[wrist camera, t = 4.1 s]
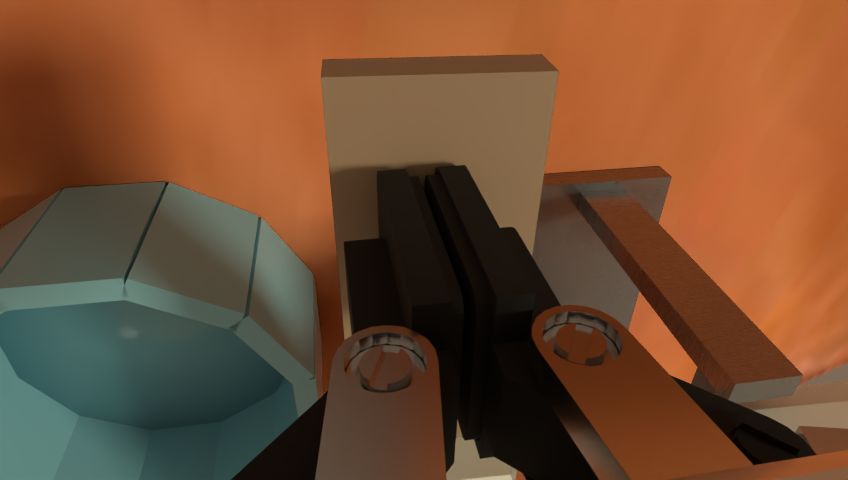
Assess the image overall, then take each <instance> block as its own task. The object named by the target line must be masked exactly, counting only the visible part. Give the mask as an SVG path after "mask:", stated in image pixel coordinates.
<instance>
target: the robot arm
mask: <svg viewBox="0 0 848 480" xmlns="http://www.w3.org/2000/svg"><path fill="white" fill-rule="evenodd" d="M377 202H378V228H379V238H376V239H365V240H353V241H344V257H345V270H346V282H347V294H348V305H349V315H350V324H351V334H352V335H351V336H350V337H348V338H347V339H345V340H344V342H343V343H342V344H341V345H340V346H339V347H338V349H337V350H336V352H335V355H334V358H333V361H332V366H331V373H330V380H329V387H328V391H327V392H326V393H325V394H324V395H323V396H322V397H321V398H320V399H318V400H317V401H316V402H315V403H314V404H313V405H312V406H311V407H310V408H309V409H308V410H306V411H305V412H304V413H303V414H302V415H301V416H300V417H299V418H298V419H297V420H296V421H294V422H293V423H292V424H291V425H290V426H289V427H288V428H287V429H286V430H285V431H283V432H282V433H281V434H280V435H279V436H278V437H277V438H276V439H275V440H274V441H273V442H271V443H270V444H269V445H268V446H267V447H266V448H265V449H264V450H263V451H262V452H261V453H259V454H258V455H257V456H256V457H255V458H254V459H253V460H252V461H251V462H250V463H249V464H247V465H246V466H245V467H244V468H243V469H242V470H241V471H240V472H239V473H238V474H236V475H235V476H234V477H233V478H232V479H231V480H447V479H446V473H447V472H448V470H449V469H450V468H451V466H452V465H453V464H454V457H455V442H456V433H457V419H458V423H459V427H460V430H461V434H462V437H463V439H464V440H465V441H466V440H473V439H474V441H475V444H476V448H477V451H478V454H479V458H480V459H483V458H489V457H495V458H497V459H499V460H500V461H502V462H504V463H506V464H507V465H509V466H511V473H510V475H511V478H512V480H848V429H845V428H828V427H811V426H799V427H798V428H797V430H796V432H794V431H792V430H791V429H790V428H788V427H787V426H785V425H783V424H781V423H779V422H777V421H775V420H774V419H772V418H770V417H767V416H765V415H763V414H760V413H758V412H756V411H753V410H751V409H749V408H746V407H744V406H741V405H739V404H737V403H734V402H732V401H730V400H727V399H725V398H723V397H720V396H718V395H715V394H713V393H711V392H708V391H706V390H704V389H701V388H699V387H697V386H694V385H692V384H689V383H687V382H685V381H682V380H680V379H678V378H675V377H673V376H671V375H669V374H668V373H667V372H666V371H665V369H664V368H663V367H662V366H661V365H660V364H659V363H658V362H657V361H656V360H655V359H654V358H653V357H652V355H651V354H650V353H649V352H648V351H647V350H646V349H645V348H644V347H643V346H642V345H641V344H640V343H639V342H638V340H637V339H636V338H635V337H634V336H633V335H632V334H631V333H630V332H629V331H628V330H627V329H626V328H625V327H624V326H623V325H622V324H621V323H620V322H618V321H617V320H616V319H615V318H614V317H612V316H610V315H608V314H606V313H604V312H602V311H600V310H597V309H593V308H590V307H586V306H578V305H563V306H561V305H560V303H559V301H558V299H557V298H556V296H555V294H554V293H553V291H552V289H551V288H550V286H549V284H548V283H547V281H546V279H545V277H544V276H543V274H542V272H541V271H540V269H539V267H538V266H537V264H536V262H535V260H534V259H533V257H532V255H531V254H530V252H529V250H528V249H527V247H526V245H525V243H524V242H523V240H522V238H521V237H520V235H519V233H518V232H517V230H516V229H515V228H514V227H503V228H500V227H499V225H498V223H497V222H496V220H495V218H494V216H493V214H492V212H491V211H490V209H489V207H488V205H487V203H486V201H485V200H484V198H483V196H482V194H481V192H480V191H479V189H478V187H477V185H476V183H475V181H474V180H473V178H472V176H471V174H470V172H469V170H468V169H467V167H466V166H465V165H458V166H444V167H436V169H435V173H434V175H426V177H425V193H424V190H423V188H422V185H421V182H420V180H419V177H418V176H409V175H408V172H407V170H406V169H400V170H385V171H377Z"/></svg>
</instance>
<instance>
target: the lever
mask: <svg viewBox="0 0 848 480" xmlns="http://www.w3.org/2000/svg"><path fill="white" fill-rule="evenodd" d="M558 74H559V71H558V70H557V69H556V68H555V67H554V66H553V65H552V64H551V63H550V62H549V61H548V60H547V59H546V58H545V57H544V56H543V55H542V54H536V55H493V56H449V57H406V58H363V59H323V61H322V71H321V84H322V95H323V106H324V117H325V128H326V139H327V150H328V161H329V173H330V184H331V195H332V206H333V217H334V228H335V239H336V250H337V261H338V272H339V283H340V294H341V305H342V316H343V328H344V339H347V338H348V337H350V336H351V335H352V334H351V324H350V315H349V305H348V294H347V282H346V270H345V257H344V241H353V240H365V239H376V238H379V228H378V202H377V171H385V170H400V169H406V170H407V172H408V175H409V176H418V177H419V180H420V182H421V185H422V188H423V190H424V193H425V177H426V175H434V173H435V169H436V167H444V166H458V165H465V166H466V167H467V169H468V170H469V172H470V174H471V176H472V178H473V180H474V181H475V183H476V185H477V187H478V189H479V191H480V192H481V194H482V196H483V198H484V200H485V201H486V203H487V205H488V207H489V209H490V211H491V212H492V214H493V216H494V218H495V220H496V222H497V223H498V225H499V227H500V228H503V227H514V228H515V229H516V230H517V232H518V233H519V235H520V237H521V238H522V240H523V242H524V243H525V245H526V247H527V249H528V250H529V252H530V254H531V255H532V254H533V247H534V240H535V233H536V226H537V219H538V212H539V205H540V199H541V192H542V185H543V178H544V171H545V164H546V157H547V150H548V143H549V136H550V129H551V122H552V115H553V108H554V101H555V94H556V87H557V80H558ZM691 384H692V385H694V386H697V387H699V388H701V389H704V390H706V391H708V392H711V393H713V394H715V395H718V393H717V392H716V391H715V389H714V388H713V387H712V385H711V384H710V383H709V381H708V380H707V379H706V377H705V376H704V375H703V374H702V372H701V371H700V370H699V368H697V370H696V373H695V375H694V378H693V380H692V383H691ZM718 396H719V395H718ZM737 404H739V405H741V406H744V407H746V408H749V409H751V410H753V411H756V412H758V413H760V414H763V415H765V416H767V417H770V418H772V419H774V420H775V421H777V422H779V423H781V424H783V425H785V426H787V427H788V428H790V429H791V430H792V431H794V432H796V430H797V428H798V427H799V426H811V427H828V428H845V429H848V381H844V382H832V383H822V384H810V385H799V386H797V388H796V390H795V391H794V393H793V395H792V396H786V397H778V398H771V399H764V400H756V401H749V402H741V403H737ZM510 473H511V466H509V465H507V464H506V463H504V462H502V461H500V460H499V459H497V458H495V457H489V458H483V459H480V458H479V454H478V451H477V448H476V444H475V441H474V439H473V440H466V441H465V440H464V439H463V437H462V434H461V430H460V427H459V423H458V419H457V433H456V442H455V457H454V464H453V465H452V466H451V468H450V469H449V470H448V472H447V473H446V479H447V480H512V478H511V475H510Z"/></svg>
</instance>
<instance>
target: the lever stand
mask: <svg viewBox="0 0 848 480" xmlns="http://www.w3.org/2000/svg"><path fill="white" fill-rule="evenodd" d="M670 181H671V176H670V175H669V174H668V173H667V172H666V171H665V170H663V169H662V168H661V167H660V166H655V167H641V168H626V169H612V170H597V171H583V172H568V173H554V174H544V178H543V185H542V192H541V199H540V205H539V212H538V219H537V226H536V233H535V240H534V247H533V254H532V257H533V259H534V260H535V262H536V264H537V266H538V267H539V269H540V271H541V272H542V274H543V276H544V277H545V279H546V281H547V283H548V284H549V286H550V288H551V289H552V291H553V293H554V294H555V296H556V298H557V299H558V301H559V303H560V305H561V306H563V305H578V306H586V307H590V308H593V309H597V310H600V311H602V312H604V313H606V314H608V315H610V316H612V317H614V318H615V319H616V320H617V321H618V322H620V323H621V324H622V325H623V326H624V327H625V328H626V329H627V330H628V329H629V325H630V322H631V318H632V315H633V311H634V308H635V304H636V301H637V297H638V294H639V291H640V292H641V293H642V295H643V296H644V297H645V299H646V300H647V301H648V303H649V304H650V305H651V307H652V308H653V309H654V311H655V312H656V313H657V314H658V316H659V317H660V318H661V320H662V321H663V322H664V324H665V325H666V326H667V328H668V329H669V330H670V332H671V333H672V334H673V335H674V337H675V338H676V339H677V341H678V342H679V343H680V345H681V346H682V347H683V349H684V350H685V351H686V353H687V354H688V355H689V356H690V358H691V359H692V360H693V362H694V363H695V364H696V366H697V367H698V368H699V370H700V371H701V372H702V374H703V375H704V376H705V377H706V379H707V380H708V381H709V383H710V384H711V385H712V387H713V388H714V389H715V391H716V392H717V393H718V395H719V396H720V397H723V398H725V399H727V400H730V401H732V402H734V403H741V402H749V401H756V400H764V399H771V398H778V397H786V396H792V395H793V393H794V391H795V390H796V388H797V386H798V384H799V382H800V380H801V379H802V377H803V375H802V373H801V372H800V371H799V370H798V369H797V368H796V367H795V366H794V365H793V364H792V363H791V362H790V361H789V360H788V359H787V358H786V357H785V356H784V355H783V354H782V352H781V351H780V350H779V349H778V348H777V347H776V346H775V345H774V344H773V343H772V342H771V341H770V340H769V339H768V338H767V337H766V336H765V335H764V334H763V333H762V331H761V330H760V329H759V328H758V327H757V326H756V325H755V324H754V323H753V322H752V321H751V320H750V319H749V318H748V317H747V316H746V315H745V314H744V313H743V312H742V311H741V309H740V308H739V307H738V306H737V305H736V304H735V303H734V302H733V301H732V300H731V299H730V298H729V297H728V296H727V295H726V294H725V293H724V292H723V291H722V290H721V288H720V287H719V286H718V285H717V284H716V283H715V282H714V281H713V280H712V279H711V278H710V277H709V276H708V275H707V274H706V273H705V272H704V271H703V270H702V269H701V268H700V266H699V265H698V264H697V263H696V262H695V261H694V260H693V259H692V258H691V257H690V256H689V255H688V254H687V253H686V252H685V251H684V250H683V249H682V248H681V247H680V245H679V244H678V243H677V242H676V241H675V240H674V239H673V238H672V237H671V236H670V235H669V234H668V233H667V232H666V231H665V230H664V229H663V228H662V227H661V226H660V225H659V220H660V216H661V213H662V209H663V206H664V202H665V199H666V195H667V192H668V188H669V185H670Z"/></svg>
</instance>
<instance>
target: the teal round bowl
mask: <svg viewBox="0 0 848 480" xmlns="http://www.w3.org/2000/svg"><path fill="white" fill-rule="evenodd" d="M258 218H259V215H256V214H253V213H251V212H248V211H245V210H242V209H240V208H237V207H234V206H232V205H229V204H226V203H224V202H221V201H218V200H216V199H213V198H210V197H208V196H205V195H202V194H200V193H197V192H194V191H192V190H189V189H186V188H184V187H181V186H178V185H176V184H173V183H170V182H169V183H168V185H167V187H166V183H165V181H163V182H148V183H132V184H117V185H101V186H86V187H70V188H64V189H63V190H62V189H60V190H59V191H57V192H56V193H54V194H53V195H51V196H50V197H48V198H46V199H45V200H43V201H42V202H40V203H39V204H37V205H36V206H34V207H33V208H31V209H30V210H28V211H27V212H25V213H24V214H22V215H21V216H19V217H18V218H16V219H15V220H13V221H11V222H10V223H8V224H7V225H5V226H4V227H2V228H1V229H0V480H231V479H232V478H233V477H234V476H235V475H236V474H238V473H239V472H240V471H241V470H242V469H243V468H244V467H245V466H246V465H247V464H249V463H250V462H251V461H252V460H253V459H254V458H255V457H256V456H257V455H258V454H259V453H261V452H262V451H263V450H264V449H265V448H266V447H267V446H268V445H269V444H270V443H271V442H273V441H274V440H275V439H276V438H277V437H278V436H279V435H280V434H281V433H282V432H283V431H285V430H286V429H287V428H288V427H289V426H290V425H291V424H292V423H293V422H294V421H296V420H297V419H298V418H299V417H300V416H301V415H302V414H303V413H304V412H305V411H306V410H308V409H309V408H310V407H311V406H312V405H313V404H314V403H315V402H316V401H317V400H318V399H320V398H321V397H322V396H323V380H322V340H321V328H320V320H319V311H318V303H317V295H316V286H315V278H314V276H313V273H312V272H311V271H310V270H309V269H308V268H307V266H306V265H305V264H304V263H303V262H302V261H301V260H300V259H299V258H298V257H297V256H296V254H295V253H294V252H293V251H292V250H291V249H290V248H289V247H288V246H287V245H286V244H285V242H284V241H283V240H282V239H281V238H280V237H279V236H278V235H277V234H276V233H275V232H274V230H273V229H272V228H271V227H270V226H269V225H268V224H267V223H266V222H265V221H264V219H263V218H260V219H258Z"/></svg>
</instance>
